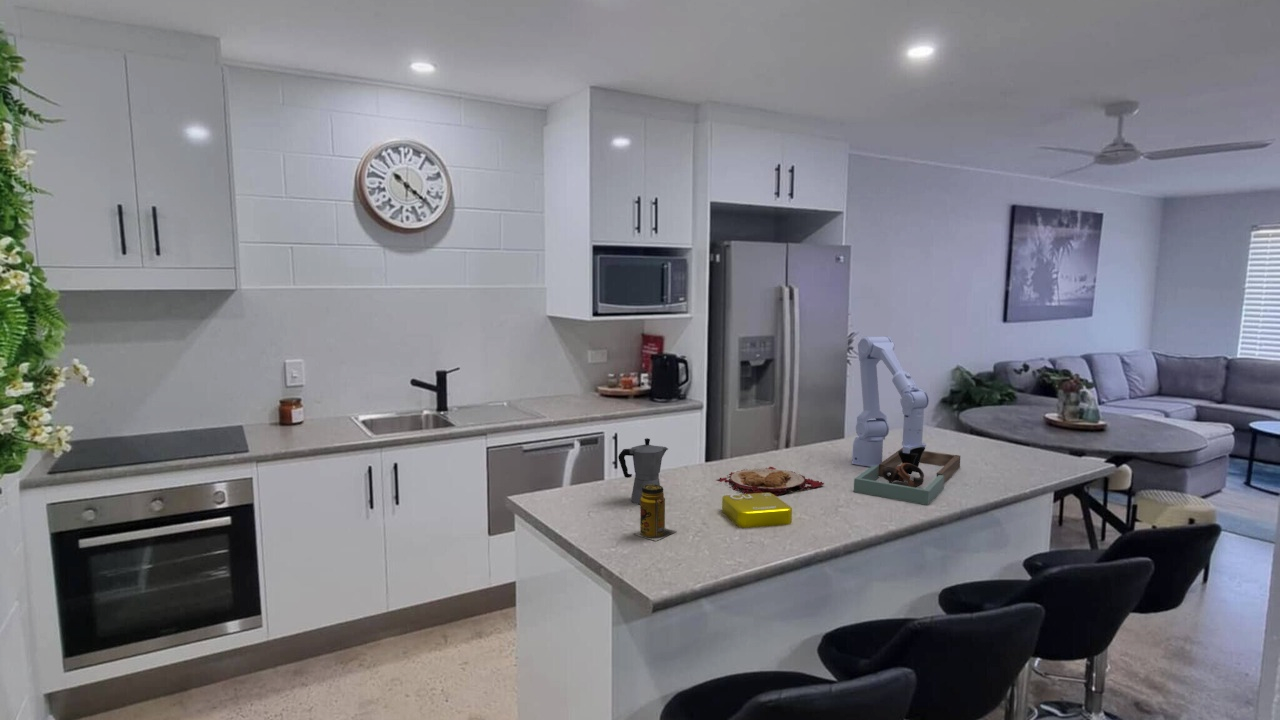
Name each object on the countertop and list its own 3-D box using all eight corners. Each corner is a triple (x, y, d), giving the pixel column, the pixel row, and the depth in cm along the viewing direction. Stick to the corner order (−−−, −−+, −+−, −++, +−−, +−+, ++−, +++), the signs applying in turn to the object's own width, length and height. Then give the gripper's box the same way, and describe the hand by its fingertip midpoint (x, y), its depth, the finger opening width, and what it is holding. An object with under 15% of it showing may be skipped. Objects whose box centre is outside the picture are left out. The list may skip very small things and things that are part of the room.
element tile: (739, 529, 174) (740, 511, 173) (719, 510, 188) (720, 493, 188) (794, 525, 177) (795, 507, 177) (770, 506, 192) (771, 490, 191)
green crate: (853, 491, 205) (854, 478, 205) (873, 477, 221) (874, 464, 220) (928, 505, 193) (928, 491, 192) (943, 488, 209) (944, 475, 208)
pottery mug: (911, 482, 216) (923, 463, 211) (917, 504, 208) (930, 485, 204) (874, 472, 216) (885, 453, 211) (879, 494, 208) (891, 474, 203)
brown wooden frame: (878, 476, 222) (879, 464, 221) (902, 458, 244) (902, 447, 244) (941, 486, 211) (942, 473, 210) (959, 467, 233) (960, 455, 233)
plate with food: (825, 489, 210) (825, 478, 210) (758, 500, 197) (758, 488, 196) (771, 471, 231) (771, 461, 231) (707, 480, 218) (707, 469, 217)
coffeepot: (659, 492, 203) (660, 433, 201) (675, 502, 194) (675, 439, 192) (611, 499, 196) (611, 437, 194) (625, 509, 188) (625, 445, 186)
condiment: (632, 534, 169) (633, 487, 168) (654, 525, 176) (654, 479, 174) (655, 541, 164) (656, 493, 163) (677, 532, 171) (677, 485, 170)
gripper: (920, 434, 207) (918, 478, 209) (931, 426, 219) (929, 468, 221) (896, 431, 211) (894, 474, 213) (908, 424, 223) (906, 464, 225)
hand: (910, 471), depth 217 cm, fingers open, 7 cm apart
